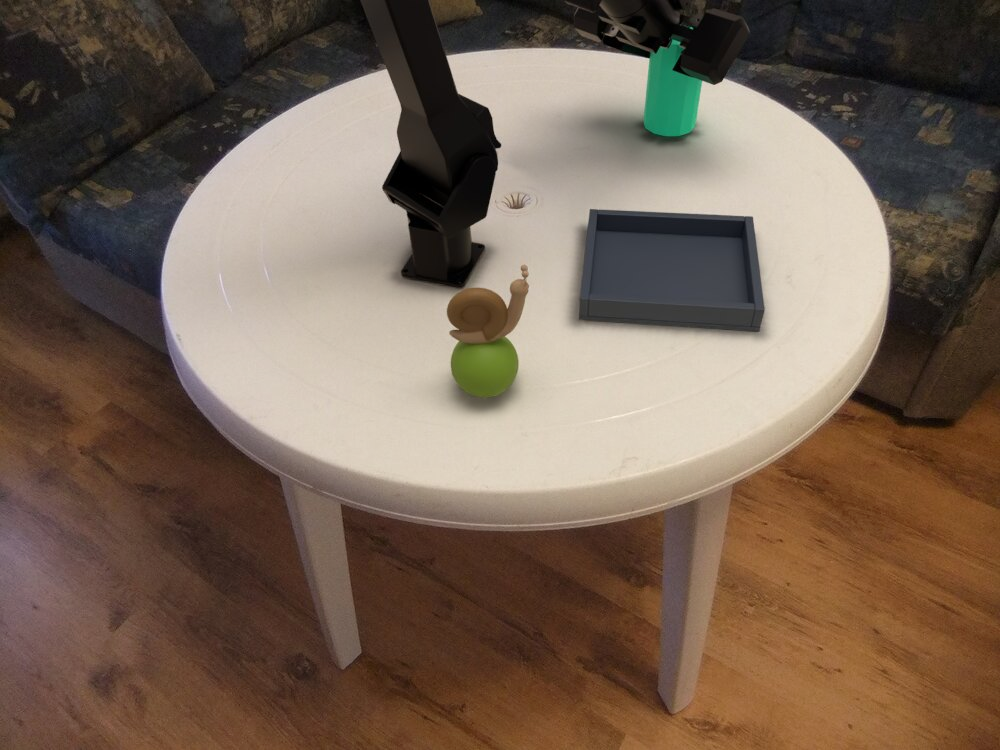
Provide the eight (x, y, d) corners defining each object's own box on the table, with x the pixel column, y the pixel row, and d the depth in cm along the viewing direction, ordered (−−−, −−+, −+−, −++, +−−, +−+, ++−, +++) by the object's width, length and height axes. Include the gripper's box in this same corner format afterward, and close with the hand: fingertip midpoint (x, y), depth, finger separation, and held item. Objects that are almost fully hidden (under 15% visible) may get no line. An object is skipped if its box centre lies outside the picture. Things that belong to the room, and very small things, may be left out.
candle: (664, 106, 95) (676, 2, 87) (705, 122, 92) (722, 17, 84) (632, 124, 92) (641, 19, 84) (674, 142, 89) (688, 35, 81)
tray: (578, 320, 71) (579, 298, 69) (588, 229, 80) (589, 208, 78) (759, 331, 69) (765, 309, 67) (748, 237, 78) (753, 216, 76)
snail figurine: (534, 407, 64) (532, 292, 55) (455, 414, 64) (440, 300, 55) (527, 359, 67) (524, 245, 59) (452, 366, 67) (438, 252, 59)
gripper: (758, -73, 69) (798, 18, 82) (596, -111, 79) (655, -24, 92) (690, 46, 71) (740, 117, 84) (540, -6, 81) (606, 65, 94)
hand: (684, 64), depth 88 cm, fingers closed on candle, 5 cm apart
